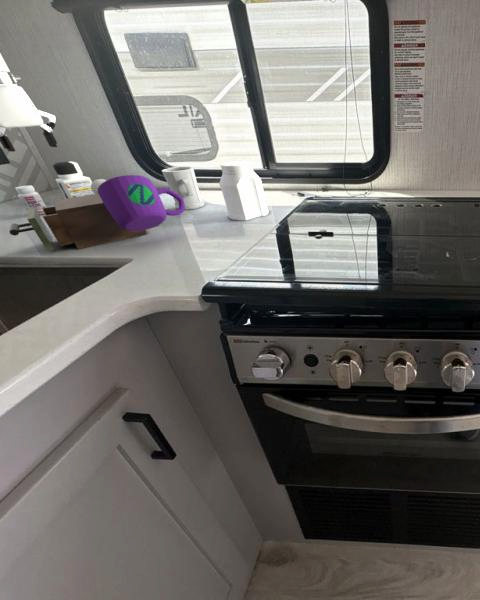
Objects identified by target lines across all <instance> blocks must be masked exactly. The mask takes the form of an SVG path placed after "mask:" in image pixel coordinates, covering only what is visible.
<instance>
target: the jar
mask: <svg viewBox="0 0 480 600" xmlns="http://www.w3.org/2000/svg"><path fill="white" fill-rule="evenodd" d="M220 168H221V172H222V175H221V177H220V180H219V183H218V185H219V187H220V189H221V193H222V197H223V199H224V203H225V206H226V207H225V208H226V210H227V214H228V217H229V219H231V220H233V221H248V220H249V221H250V220H252V219H255V218H260V217H265V216H267V215H268V214H269V208H268V205H267V201H266V195H265V191H264V186H263V182H262V178H261V177H260V176H259V175H258V174H257V173H256V171H254V169H253V164H252V161H249V160H234V161H227V162H222V163H221V164H220Z"/></svg>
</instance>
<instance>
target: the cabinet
mask: <svg viewBox="0 0 480 600" xmlns="http://www.w3.org/2000/svg"><path fill="white" fill-rule="evenodd" d="M53 203H54V206H55V208H56V212H57V214H58V215H59V217H60V219H61V221H62V222H63V224H64V226H65V227H66V229H67V231H68V233H69V234H70V236H71V238H72V240H73V241H74V243H73V244H74V245H75V247H76V248H77V249H78V250H79V249H85V248H89V247H92V246H93V247H95V246H98V245H102V244H107V243H112V242H116V241H117V242H118V241H121V240H125V239H126V240H127V239H129V238H134V237H138V236H139V237H140V236H144V235H147V234H148V233H147V230H141V231H129V230H125V229H123V228H121V227H120V226H119V225H118V224H117V223H116V222H115V220H114V219H113V218H112V216H111V215H110V213H109V211H108V210H107V208H106V206H105V205H104V203H103V201H102V199H101V198H100V196H99V194H93V195H87V196H80V197H73V198H67V199H66V198H60V199H54V200H53Z"/></svg>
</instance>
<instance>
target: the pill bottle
mask: <svg viewBox="0 0 480 600" xmlns="http://www.w3.org/2000/svg"><path fill="white" fill-rule="evenodd" d="M14 189H15V191H16V192H17V193H18V194H17V197H18V199H19V201H20V202H21V204H22V206H23V207H24V209H25V210H26V212H27V213H28V209H30V208H35V209H36V211H37V212H38V214H39V216H40V215H46V214H45V212H44V211H43V209H42V208H45V207H47V205H46V204H45V202H44V200H43V198H42V196H41V195H40V194H39V192H38V191H36V189H35V187H34V186H33V185H21V186H16V187H14Z"/></svg>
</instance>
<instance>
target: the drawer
mask: <svg viewBox="0 0 480 600" xmlns="http://www.w3.org/2000/svg"><path fill="white" fill-rule="evenodd" d="M42 209H43V211H44V212H45V214H44V215H42V217H41V216H40V215H39V214H38V212H37V211H36V209H35V208H30V209H28V212H27V217H26V219H27V221H28V222H26V223H20V224H18V223H11V224H10V227H9V234H10V235H11V236H19V234H20V233H26V232H31V231H34V232H35V234H36V236H37V237H38V238H39V240H40V242H41V243H42V245H43V246H44V248H45V250H46V251H47V252H50V251H54V250H55V246H54V239H53V238H55V240H56V241H57V243H58V244H59V246H60V247H63V246H67V245H72V244H75V243H74V241H73V240H72V238H71V236H70V234H69V233H68V231H67V229H66V227H65V226H64V224H63V222H62V221H61V219H60V217H59V215H58V214H57V212H56V208H55V205H52V206H46V207H45V208H42ZM42 218H43V219H42ZM43 220H44V221H43ZM45 223H46V224H45ZM47 226H48V227H47ZM48 228H49V229H50V230H49V229H48ZM50 231H51V232H50ZM51 233H52V234H53V236H52V234H51Z"/></svg>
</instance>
